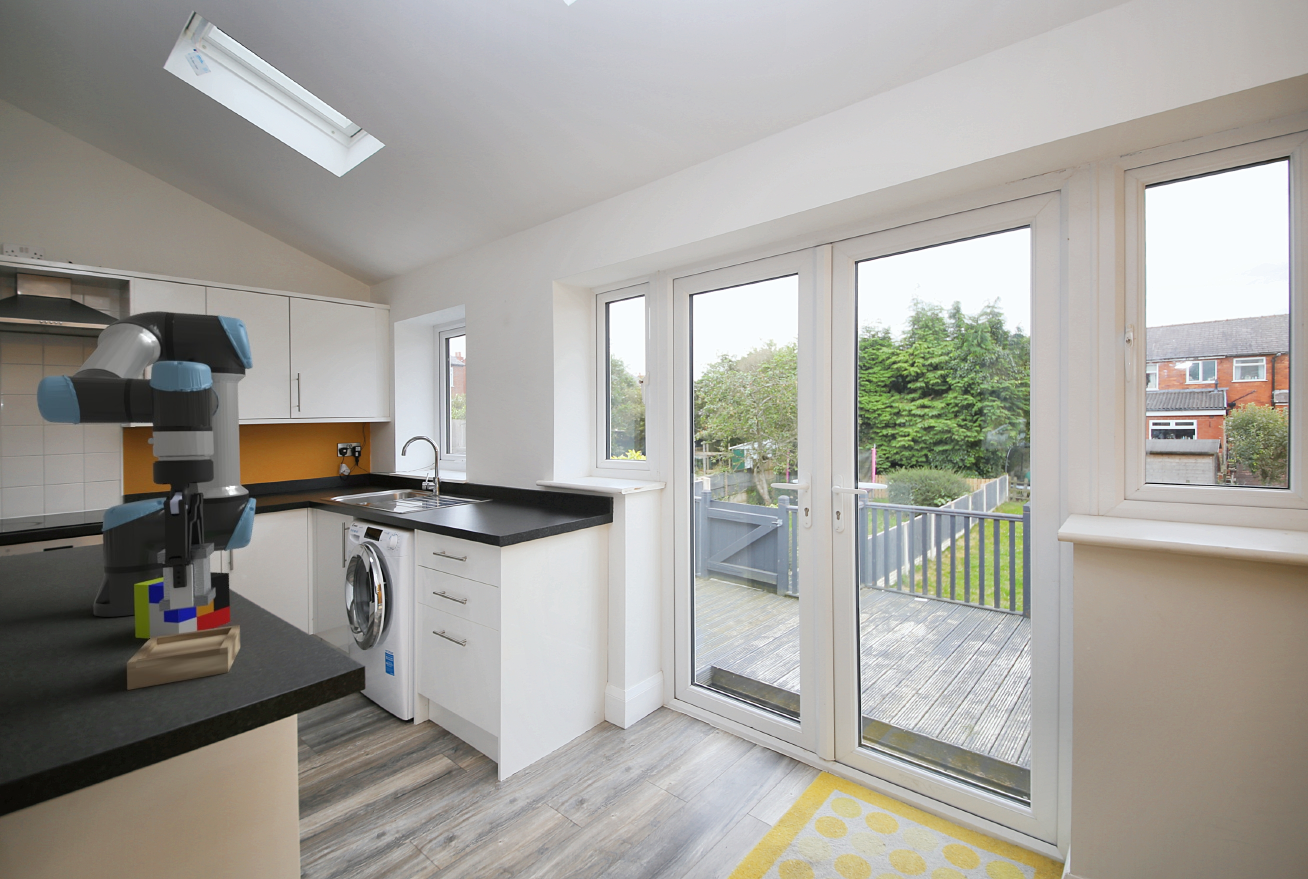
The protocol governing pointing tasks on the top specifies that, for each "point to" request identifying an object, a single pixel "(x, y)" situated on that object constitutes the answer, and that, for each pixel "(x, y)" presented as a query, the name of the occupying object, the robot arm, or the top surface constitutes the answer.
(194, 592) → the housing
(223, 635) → the tray
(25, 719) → the top surface
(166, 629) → the puzzle toy
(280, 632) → the top surface
